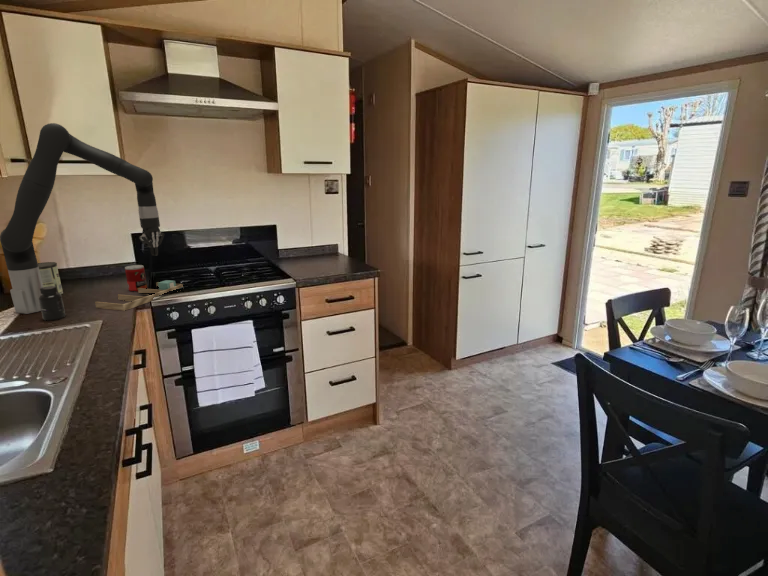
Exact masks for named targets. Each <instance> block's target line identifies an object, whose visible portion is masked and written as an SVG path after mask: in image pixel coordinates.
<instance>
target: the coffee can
mask: <svg viewBox="0 0 768 576" xmlns="http://www.w3.org/2000/svg"><path fill="white" fill-rule="evenodd" d="M38 267H39V271H40V276H41V280H42V284H43V287H48V286H55V287H56V288H57V293H59V294H61V295H62V294H64V291H63V286H62V283H61V277H60V274H59V270H58V269H59V268H58V263H57V262H56V261H47V262H45V261H43V262H38Z"/></svg>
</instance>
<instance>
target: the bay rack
mask: <svg viewBox="0 0 768 576" xmlns="http://www.w3.org/2000/svg"><path fill="white" fill-rule="evenodd" d="M158 283H159V281H157V282H155V285H156V287H157V286H158ZM183 285H184V284H183V283H176V286H175V287H172V288H169V289H166V290H159V289H157V288H155V289H154V288H147V289H145V288H138V291H137V292H138V294H139V293H155V294H152V295H149V294H148V295H146V296H141V295H129V294H120V293H119V294H117V299H118V301H120V300H123V301H122V302H126V303H116V302H115V303H114V302H106V301H104V302H103V301H95V302H94V303H95V304H94V305H95V308H96V309H102V310H103V309H104V310H115V311H123V312H125V310H126V311H129V310H130V309H134V308H136V307H139V306H142V305H144V304H145V305H146V304H147V303H149V302H152V301H154V300H153V298H154V297H156V296H159V295H162V294H164V293H167V292H169V291H173V290H176V289H179V288H181V287H183V288H184V286H183ZM124 300H125V301H124ZM131 301H132V302H131Z"/></svg>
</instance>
